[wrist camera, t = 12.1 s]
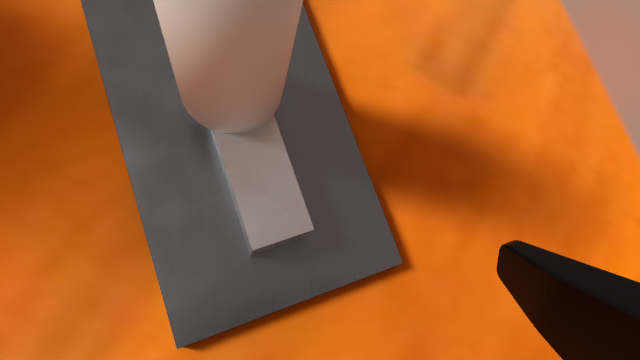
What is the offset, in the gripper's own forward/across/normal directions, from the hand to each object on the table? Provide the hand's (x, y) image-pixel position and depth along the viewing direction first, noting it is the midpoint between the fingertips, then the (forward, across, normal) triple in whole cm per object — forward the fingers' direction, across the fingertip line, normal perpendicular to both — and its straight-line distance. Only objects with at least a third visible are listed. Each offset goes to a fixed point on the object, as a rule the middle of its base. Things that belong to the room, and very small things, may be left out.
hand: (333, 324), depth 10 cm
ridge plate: (+17, -1, +2) cm, 18 cm away
